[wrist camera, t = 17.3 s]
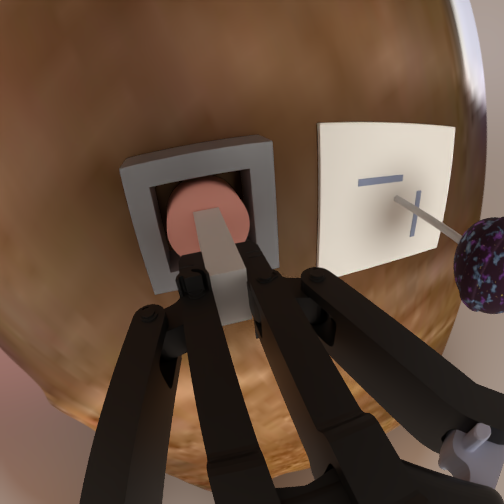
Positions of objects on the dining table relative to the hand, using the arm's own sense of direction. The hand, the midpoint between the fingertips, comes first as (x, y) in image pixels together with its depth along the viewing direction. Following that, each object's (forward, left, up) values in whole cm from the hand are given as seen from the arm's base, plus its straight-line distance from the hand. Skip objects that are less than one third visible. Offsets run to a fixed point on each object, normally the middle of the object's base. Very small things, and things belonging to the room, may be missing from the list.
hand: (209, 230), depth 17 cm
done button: (0, 0, -3) cm, 3 cm away
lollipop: (+2, +17, -4) cm, 18 cm away
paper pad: (+2, +17, -4) cm, 18 cm away
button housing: (0, 0, -4) cm, 4 cm away
